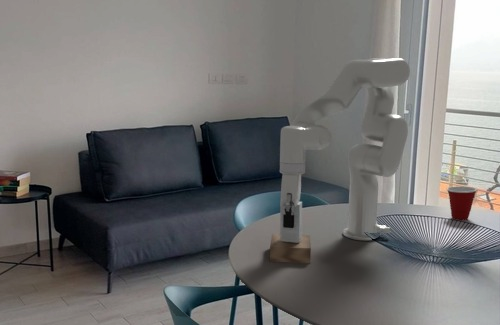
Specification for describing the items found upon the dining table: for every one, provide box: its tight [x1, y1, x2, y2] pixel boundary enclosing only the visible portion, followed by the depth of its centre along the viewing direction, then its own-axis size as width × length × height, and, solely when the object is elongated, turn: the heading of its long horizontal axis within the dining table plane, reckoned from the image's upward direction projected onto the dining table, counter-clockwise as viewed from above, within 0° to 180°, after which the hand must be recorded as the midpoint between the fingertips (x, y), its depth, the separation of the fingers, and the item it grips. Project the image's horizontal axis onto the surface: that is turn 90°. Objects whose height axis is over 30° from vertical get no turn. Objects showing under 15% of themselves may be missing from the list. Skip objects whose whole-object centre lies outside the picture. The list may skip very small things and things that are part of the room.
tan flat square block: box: [269, 233, 312, 264], centre depth 166 cm, size 12×12×5 cm
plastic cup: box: [446, 185, 478, 221], centre depth 206 cm, size 11×11×12 cm
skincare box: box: [279, 201, 303, 243], centre depth 165 cm, size 6×4×12 cm
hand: (291, 222), depth 165 cm, fingers open, 9 cm apart
